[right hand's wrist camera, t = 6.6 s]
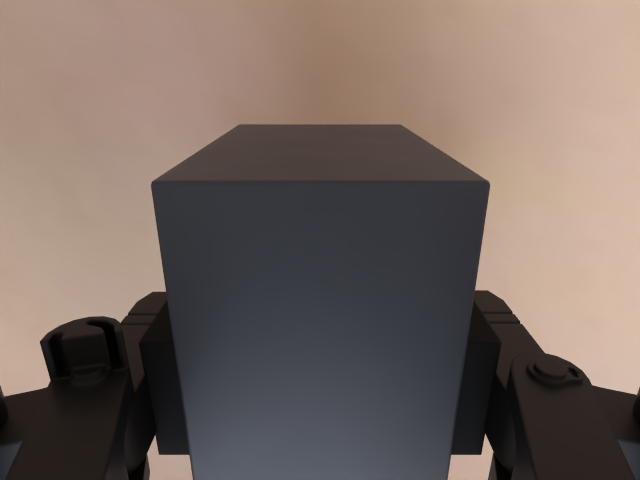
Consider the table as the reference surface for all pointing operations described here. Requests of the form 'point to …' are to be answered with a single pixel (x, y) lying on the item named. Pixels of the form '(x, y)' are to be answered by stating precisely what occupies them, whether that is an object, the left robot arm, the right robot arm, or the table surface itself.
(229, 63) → the table surface
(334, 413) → the beam
